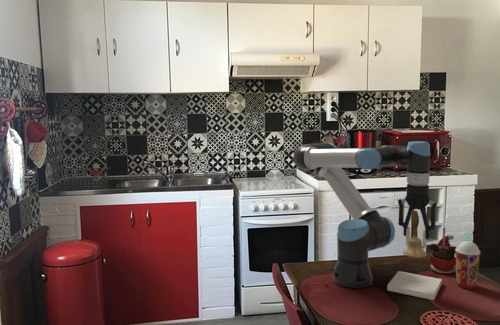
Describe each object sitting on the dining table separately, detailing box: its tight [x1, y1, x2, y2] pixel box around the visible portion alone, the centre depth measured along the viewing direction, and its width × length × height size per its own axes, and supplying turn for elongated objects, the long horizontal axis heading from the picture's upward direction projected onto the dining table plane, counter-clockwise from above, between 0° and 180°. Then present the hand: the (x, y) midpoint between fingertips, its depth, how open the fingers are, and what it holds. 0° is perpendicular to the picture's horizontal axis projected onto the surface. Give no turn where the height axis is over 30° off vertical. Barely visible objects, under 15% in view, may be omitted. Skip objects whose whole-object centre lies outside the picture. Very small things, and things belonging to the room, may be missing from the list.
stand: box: [386, 270, 443, 301], centre depth 157 cm, size 16×16×2 cm
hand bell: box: [402, 210, 428, 259], centre depth 153 cm, size 8×8×16 cm
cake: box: [428, 227, 457, 274], centre depth 172 cm, size 11×9×18 cm
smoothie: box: [455, 233, 481, 290], centre depth 157 cm, size 8×8×20 cm
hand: (416, 245), depth 156 cm, fingers closed on hand bell, 5 cm apart
